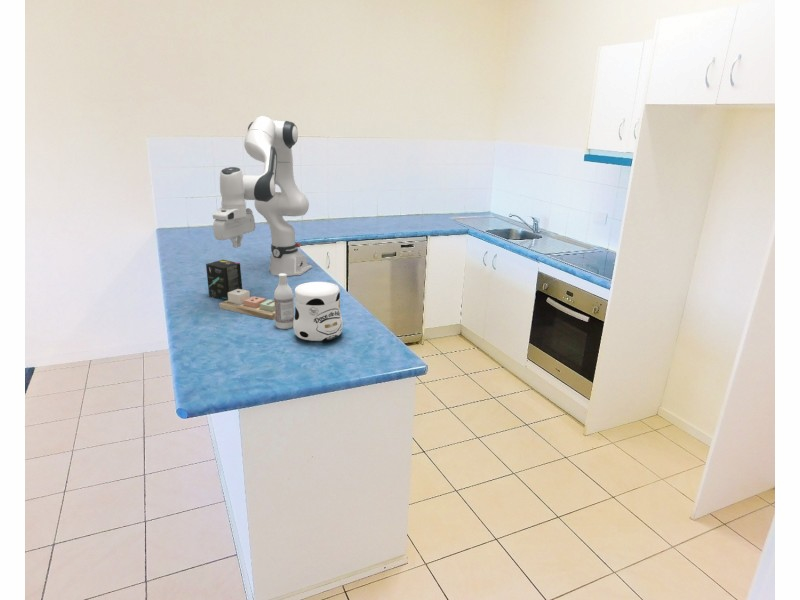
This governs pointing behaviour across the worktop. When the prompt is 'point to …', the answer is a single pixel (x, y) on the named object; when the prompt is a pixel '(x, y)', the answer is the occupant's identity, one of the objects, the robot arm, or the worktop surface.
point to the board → (247, 310)
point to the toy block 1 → (238, 296)
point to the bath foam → (283, 304)
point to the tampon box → (223, 278)
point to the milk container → (317, 312)
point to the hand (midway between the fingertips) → (237, 246)
